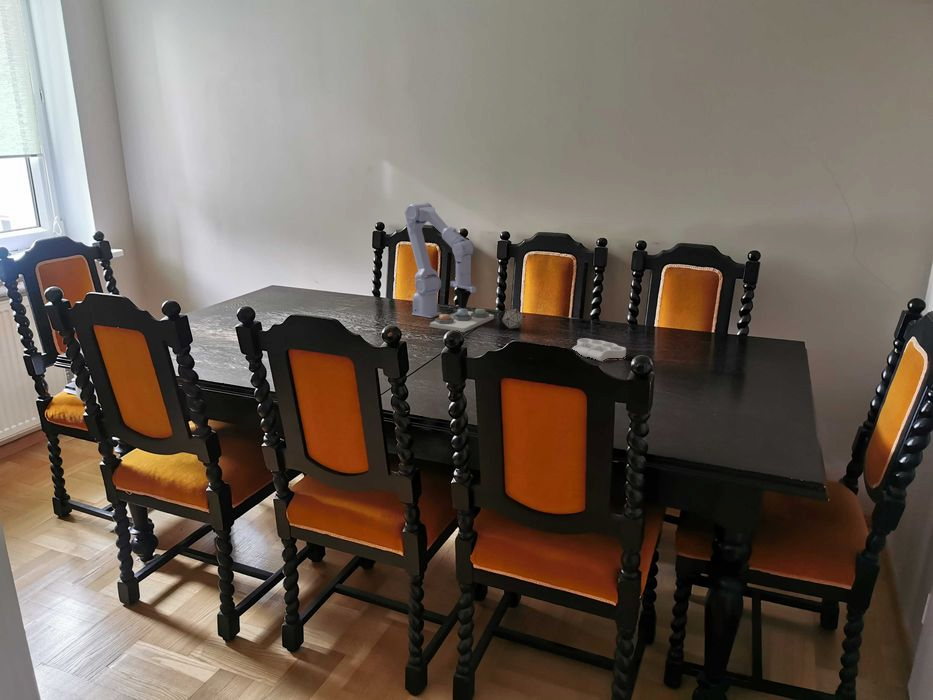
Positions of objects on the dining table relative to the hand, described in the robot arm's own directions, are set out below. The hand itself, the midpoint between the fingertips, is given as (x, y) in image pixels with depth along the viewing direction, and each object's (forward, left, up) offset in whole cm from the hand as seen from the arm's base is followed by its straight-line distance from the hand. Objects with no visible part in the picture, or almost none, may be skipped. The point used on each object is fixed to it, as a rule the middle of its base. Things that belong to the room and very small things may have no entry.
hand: (462, 307), depth 268 cm
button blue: (0, 0, -3) cm, 3 cm away
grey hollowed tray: (+58, -11, -7) cm, 60 cm away
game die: (+20, +2, -6) cm, 21 cm away
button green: (+4, +7, -4) cm, 9 cm away
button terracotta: (-4, -7, -4) cm, 9 cm away
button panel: (0, 0, -6) cm, 6 cm away
